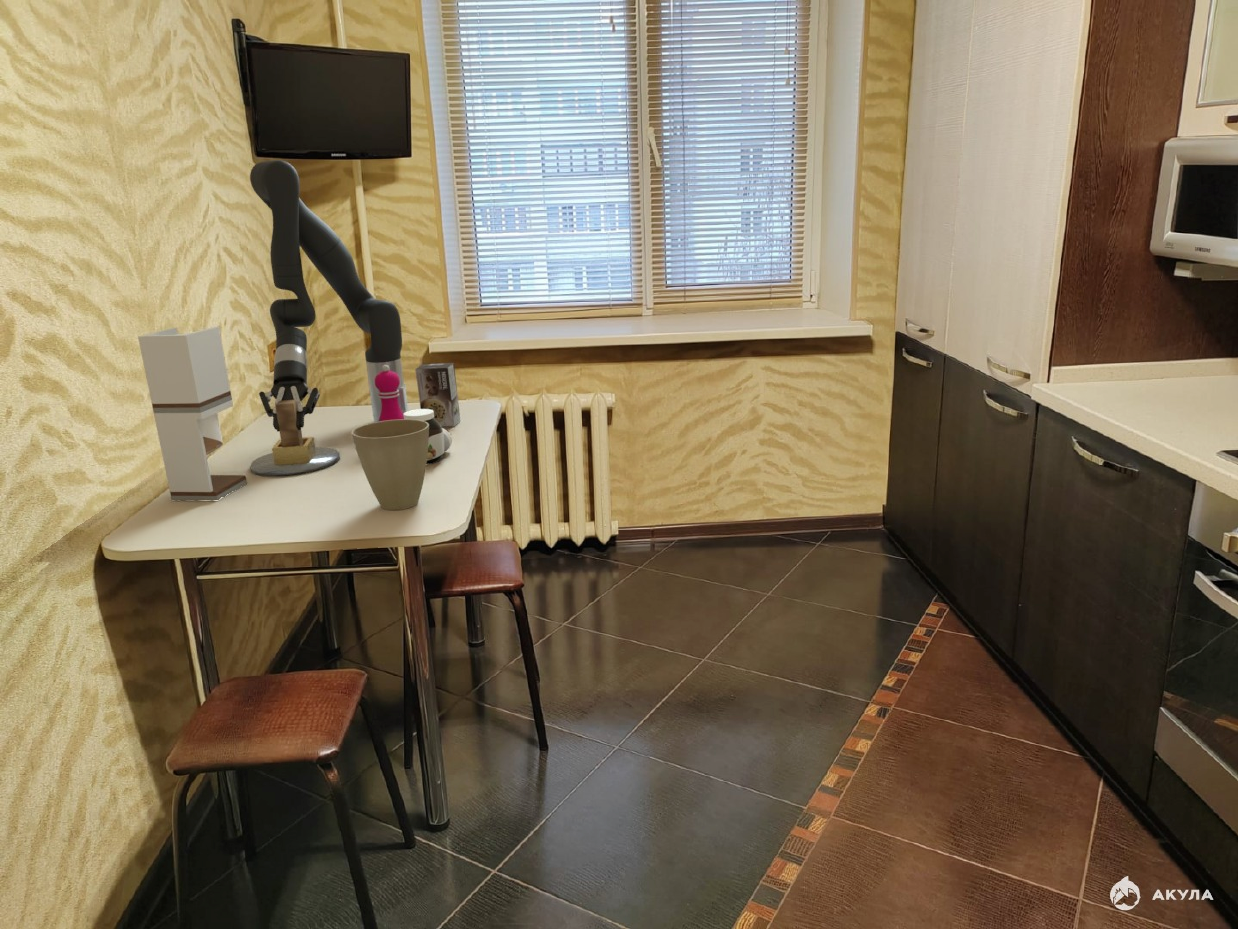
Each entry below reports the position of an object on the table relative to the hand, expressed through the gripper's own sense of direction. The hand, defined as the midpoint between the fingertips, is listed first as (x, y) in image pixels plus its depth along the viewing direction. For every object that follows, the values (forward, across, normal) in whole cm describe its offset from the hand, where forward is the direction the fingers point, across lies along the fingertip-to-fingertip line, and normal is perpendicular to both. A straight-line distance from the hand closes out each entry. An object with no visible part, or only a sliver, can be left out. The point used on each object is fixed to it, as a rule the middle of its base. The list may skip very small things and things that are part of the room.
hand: (288, 428), depth 210 cm
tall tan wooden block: (+3, 0, +6) cm, 6 cm away
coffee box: (-14, +33, +27) cm, 45 cm away
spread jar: (+9, +31, +4) cm, 33 cm away
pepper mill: (-3, +22, +16) cm, 27 cm away
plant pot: (+31, +27, -18) cm, 45 cm away
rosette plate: (+5, 0, +8) cm, 9 cm away
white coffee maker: (+17, -15, -4) cm, 23 cm away
